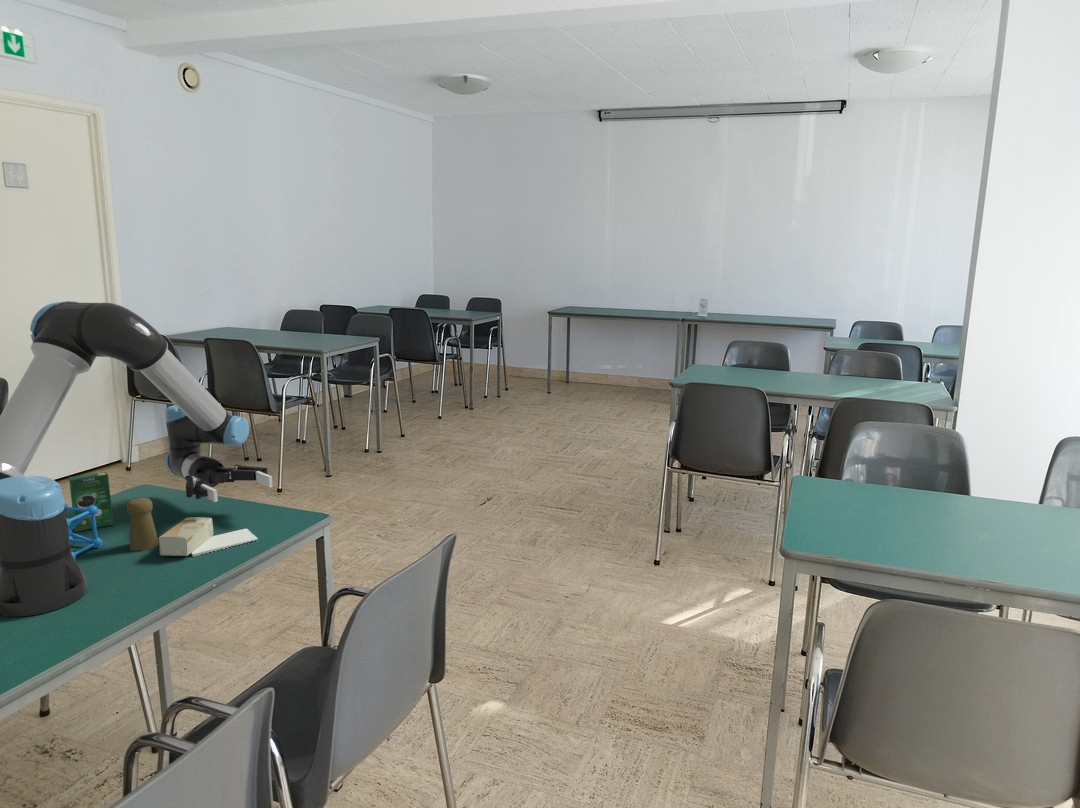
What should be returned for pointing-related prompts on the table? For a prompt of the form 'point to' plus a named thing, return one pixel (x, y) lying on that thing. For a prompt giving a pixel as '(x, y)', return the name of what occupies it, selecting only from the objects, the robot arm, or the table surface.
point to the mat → (224, 541)
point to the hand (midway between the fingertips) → (244, 488)
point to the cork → (141, 525)
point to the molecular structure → (89, 511)
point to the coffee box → (91, 499)
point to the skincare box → (186, 536)
